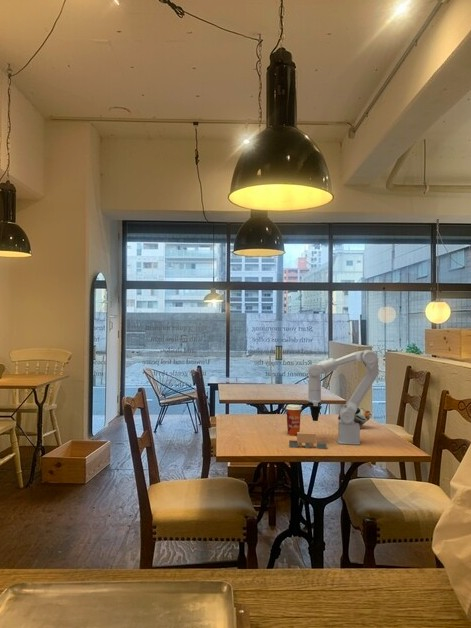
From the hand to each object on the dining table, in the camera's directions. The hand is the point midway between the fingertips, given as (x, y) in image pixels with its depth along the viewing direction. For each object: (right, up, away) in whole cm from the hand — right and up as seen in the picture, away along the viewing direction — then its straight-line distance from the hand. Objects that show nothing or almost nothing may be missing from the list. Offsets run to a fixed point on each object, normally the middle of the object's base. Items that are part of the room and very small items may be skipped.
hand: (314, 419), depth 201 cm
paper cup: (-8, -10, +11) cm, 17 cm away
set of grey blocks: (-5, -9, -11) cm, 16 cm away
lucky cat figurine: (+27, -12, +29) cm, 41 cm away
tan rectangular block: (-6, -9, -11) cm, 16 cm away
